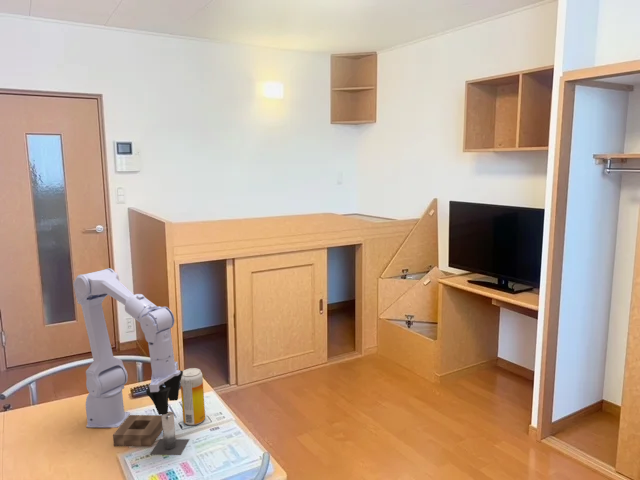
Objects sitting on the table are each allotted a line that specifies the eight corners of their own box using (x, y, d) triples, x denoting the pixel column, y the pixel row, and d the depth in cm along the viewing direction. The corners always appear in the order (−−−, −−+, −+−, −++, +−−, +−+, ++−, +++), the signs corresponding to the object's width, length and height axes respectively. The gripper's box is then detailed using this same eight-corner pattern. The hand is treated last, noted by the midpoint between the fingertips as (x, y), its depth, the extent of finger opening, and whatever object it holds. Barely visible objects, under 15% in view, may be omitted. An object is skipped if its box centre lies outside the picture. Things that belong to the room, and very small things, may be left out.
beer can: (208, 416, 144) (205, 367, 141) (201, 427, 138) (197, 377, 136) (188, 415, 145) (184, 367, 142) (180, 426, 139) (176, 376, 136)
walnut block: (114, 447, 129) (112, 434, 129) (130, 426, 139) (129, 415, 139) (151, 447, 129) (150, 435, 128) (165, 426, 139) (164, 415, 138)
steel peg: (162, 450, 127) (159, 417, 126) (166, 443, 130) (164, 411, 129) (173, 450, 127) (171, 417, 125) (177, 443, 130) (175, 411, 128)
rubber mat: (149, 455, 125) (149, 454, 125) (160, 440, 132) (160, 438, 132) (180, 456, 125) (180, 454, 125) (189, 440, 132) (189, 439, 132)
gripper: (167, 366, 118) (174, 419, 120) (186, 345, 133) (192, 393, 134) (138, 367, 119) (145, 421, 120) (160, 347, 133) (167, 394, 135)
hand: (168, 406), depth 127 cm, fingers open, 7 cm apart
